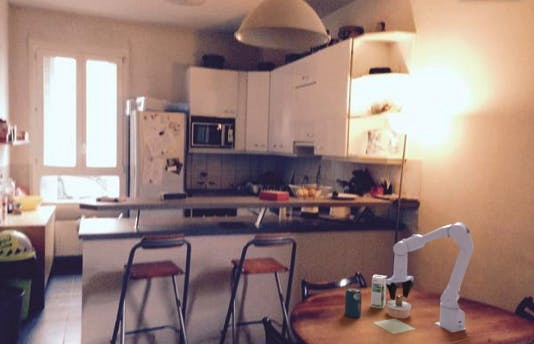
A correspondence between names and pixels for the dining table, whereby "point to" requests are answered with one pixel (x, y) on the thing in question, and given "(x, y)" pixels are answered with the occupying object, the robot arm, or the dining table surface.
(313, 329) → the dining table surface
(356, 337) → the dining table surface
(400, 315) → the bowl
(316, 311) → the dining table surface
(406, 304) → the lid
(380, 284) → the syrup box
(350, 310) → the soda can
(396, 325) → the mat
